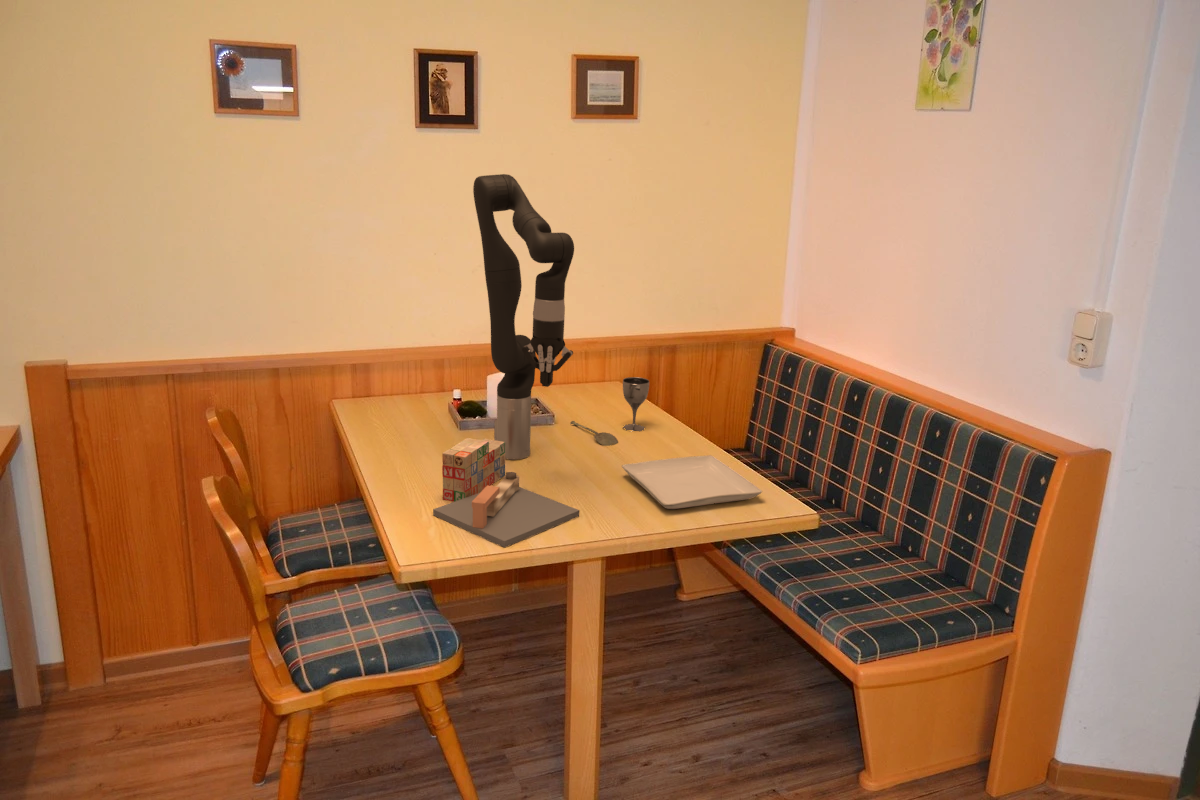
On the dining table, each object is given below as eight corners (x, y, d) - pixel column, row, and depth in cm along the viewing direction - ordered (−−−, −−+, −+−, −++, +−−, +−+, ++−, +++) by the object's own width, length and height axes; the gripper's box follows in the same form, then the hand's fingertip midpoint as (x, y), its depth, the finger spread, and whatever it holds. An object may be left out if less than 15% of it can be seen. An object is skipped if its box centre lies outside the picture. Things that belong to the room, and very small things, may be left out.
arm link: (505, 485, 229) (505, 470, 228) (521, 487, 228) (521, 471, 227) (479, 514, 211) (479, 498, 210) (495, 516, 210) (495, 500, 209)
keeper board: (432, 515, 214) (432, 485, 212) (508, 488, 232) (508, 460, 230) (504, 547, 199) (504, 515, 197) (579, 516, 217) (580, 486, 215)
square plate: (619, 477, 243) (619, 463, 242) (711, 466, 253) (712, 453, 252) (663, 517, 219) (664, 502, 218) (763, 504, 229) (764, 489, 228)
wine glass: (651, 427, 283) (654, 380, 279) (638, 433, 277) (640, 385, 272) (629, 422, 287) (631, 375, 283) (615, 428, 281) (617, 380, 277)
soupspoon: (602, 450, 264) (621, 448, 268) (603, 439, 264) (622, 437, 267) (563, 426, 282) (581, 424, 285) (564, 416, 281) (582, 414, 284)
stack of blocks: (484, 471, 243) (484, 427, 239) (505, 475, 241) (506, 430, 237) (442, 500, 224) (441, 452, 220) (465, 504, 221) (465, 456, 218)
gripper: (579, 316, 224) (576, 385, 229) (527, 310, 227) (525, 378, 232) (570, 322, 217) (567, 393, 222) (517, 316, 220) (515, 386, 225)
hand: (546, 385), depth 227 cm, fingers closed
